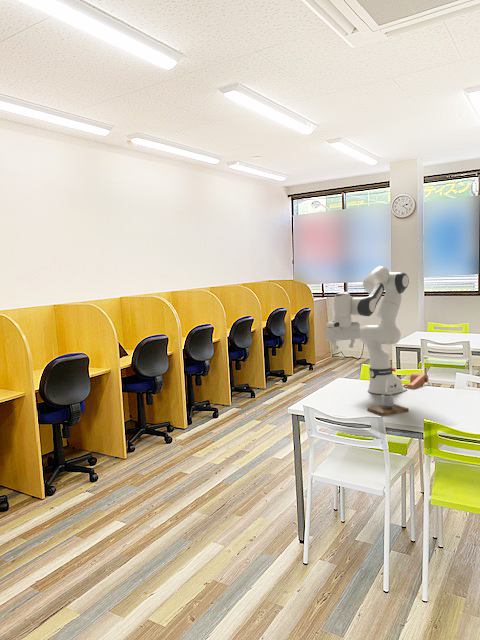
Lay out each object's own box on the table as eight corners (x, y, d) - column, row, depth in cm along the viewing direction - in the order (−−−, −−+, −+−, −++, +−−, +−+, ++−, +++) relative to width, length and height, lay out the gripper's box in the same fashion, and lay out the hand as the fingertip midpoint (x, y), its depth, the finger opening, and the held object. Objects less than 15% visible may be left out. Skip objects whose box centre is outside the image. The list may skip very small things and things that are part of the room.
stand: (392, 406, 256) (392, 392, 255) (408, 411, 245) (407, 396, 244) (367, 410, 250) (366, 396, 250) (382, 415, 239) (381, 400, 238)
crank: (416, 384, 305) (416, 371, 304) (428, 385, 299) (428, 373, 299) (400, 390, 291) (400, 377, 290) (413, 391, 285) (413, 378, 285)
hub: (388, 403, 251) (388, 393, 250) (395, 405, 246) (395, 395, 245) (379, 404, 249) (379, 395, 248) (386, 407, 244) (386, 397, 243)
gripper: (356, 320, 265) (356, 345, 266) (323, 323, 258) (324, 349, 259) (362, 321, 259) (363, 347, 260) (329, 324, 252) (330, 350, 253)
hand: (343, 348), depth 259 cm, fingers open, 8 cm apart
